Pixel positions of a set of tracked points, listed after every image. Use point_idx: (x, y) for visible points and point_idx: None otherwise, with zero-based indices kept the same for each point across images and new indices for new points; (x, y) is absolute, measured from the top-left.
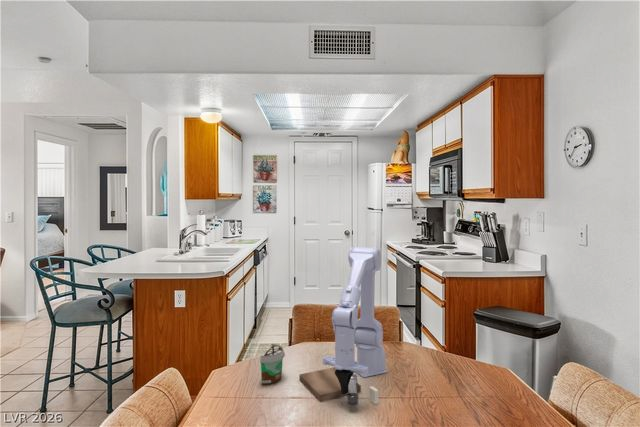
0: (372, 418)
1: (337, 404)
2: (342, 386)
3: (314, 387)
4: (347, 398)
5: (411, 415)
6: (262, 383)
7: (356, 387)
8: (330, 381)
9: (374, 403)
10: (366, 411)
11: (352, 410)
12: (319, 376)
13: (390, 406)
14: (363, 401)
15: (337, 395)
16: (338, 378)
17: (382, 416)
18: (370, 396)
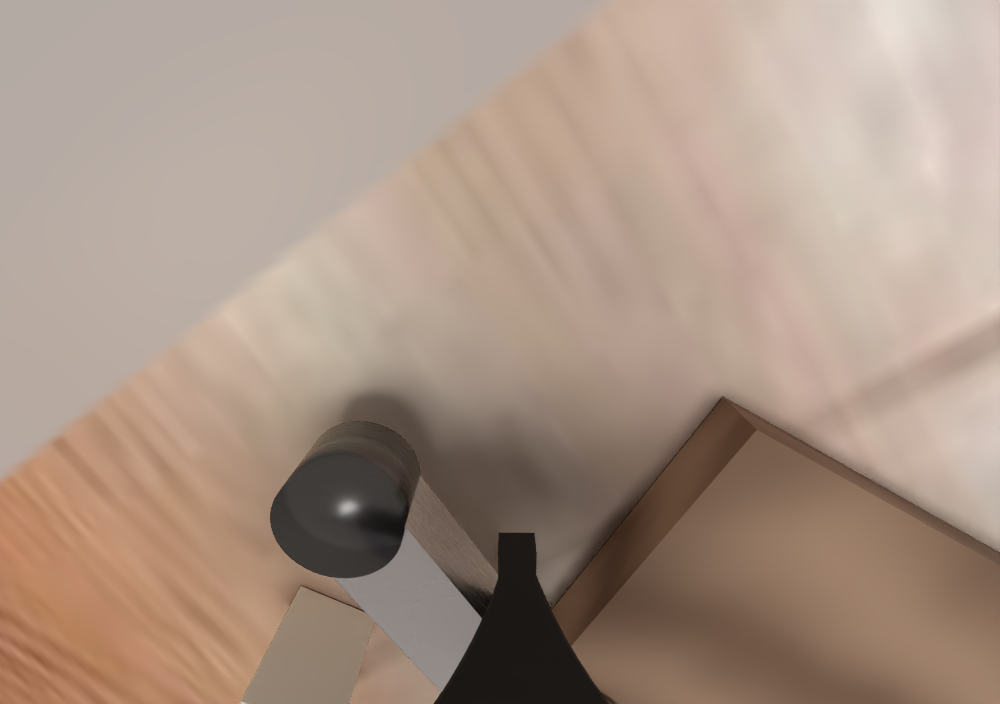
0: (173, 410)
1: (555, 441)
2: (513, 600)
3: (889, 524)
4: (393, 467)
5: (5, 590)
6: None
7: None
8: (780, 678)
9: (302, 593)
10: (284, 474)
11: None
12: (924, 701)
13: (197, 617)
14: None
15: (620, 543)
16: (581, 699)
17: (138, 477)
18: (346, 644)
